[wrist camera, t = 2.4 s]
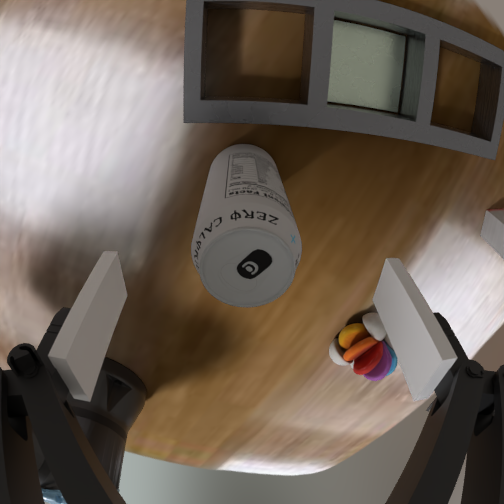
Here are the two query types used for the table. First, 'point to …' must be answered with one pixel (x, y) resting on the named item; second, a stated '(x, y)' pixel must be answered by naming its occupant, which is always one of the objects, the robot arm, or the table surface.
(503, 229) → the white printed box
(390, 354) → the rainbow disc toy
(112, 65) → the table surface
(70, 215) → the table surface
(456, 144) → the rack
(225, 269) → the energy drink can
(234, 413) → the table surface
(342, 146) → the table surface
